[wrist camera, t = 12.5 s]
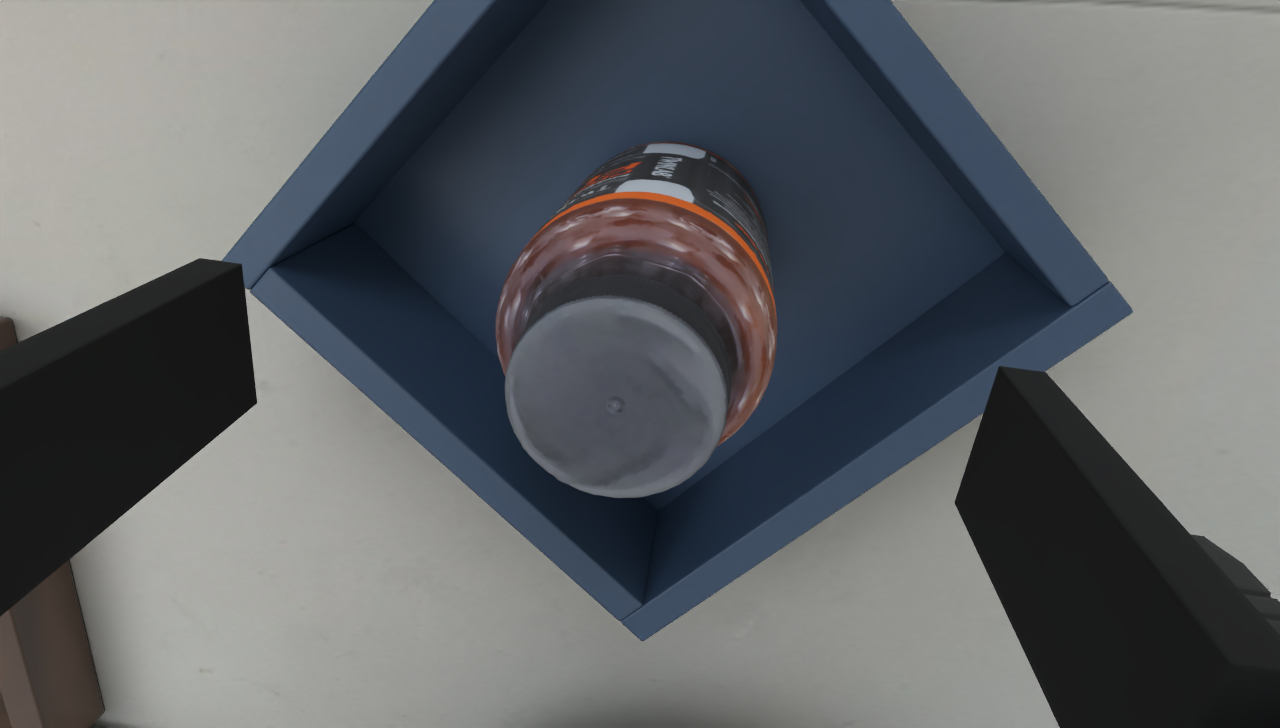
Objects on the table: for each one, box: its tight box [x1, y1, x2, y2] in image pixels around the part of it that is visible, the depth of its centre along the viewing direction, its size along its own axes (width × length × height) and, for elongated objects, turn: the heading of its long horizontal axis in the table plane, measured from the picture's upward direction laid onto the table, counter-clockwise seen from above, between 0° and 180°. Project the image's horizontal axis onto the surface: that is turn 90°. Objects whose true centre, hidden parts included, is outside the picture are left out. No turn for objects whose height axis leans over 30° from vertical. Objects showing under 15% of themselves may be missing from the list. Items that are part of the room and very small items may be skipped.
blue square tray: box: [222, 0, 1133, 641], centre depth 22 cm, size 16×16×6 cm
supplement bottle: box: [495, 141, 777, 498], centre depth 19 cm, size 6×6×11 cm
